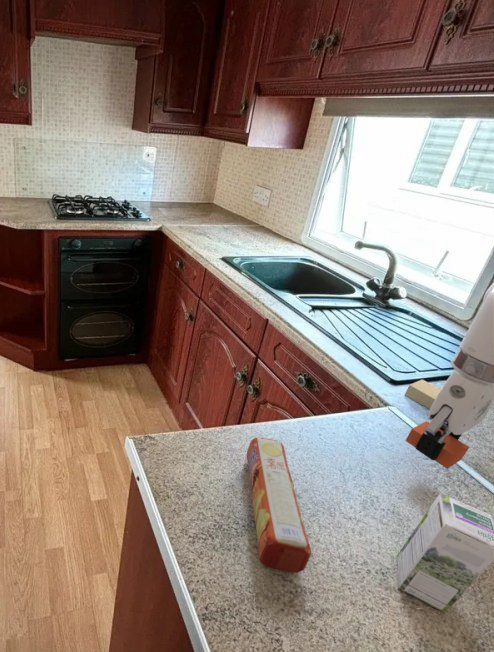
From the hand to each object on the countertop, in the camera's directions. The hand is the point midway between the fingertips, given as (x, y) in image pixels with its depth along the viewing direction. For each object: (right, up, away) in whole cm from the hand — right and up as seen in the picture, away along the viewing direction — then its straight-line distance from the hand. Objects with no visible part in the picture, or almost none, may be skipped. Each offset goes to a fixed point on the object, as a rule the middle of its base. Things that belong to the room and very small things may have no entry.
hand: (433, 448), depth 72 cm
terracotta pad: (0, 0, 0) cm, 0 cm away
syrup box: (-13, -15, -14) cm, 24 cm away
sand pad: (+19, +2, +26) cm, 32 cm away
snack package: (-32, -8, -6) cm, 33 cm away
